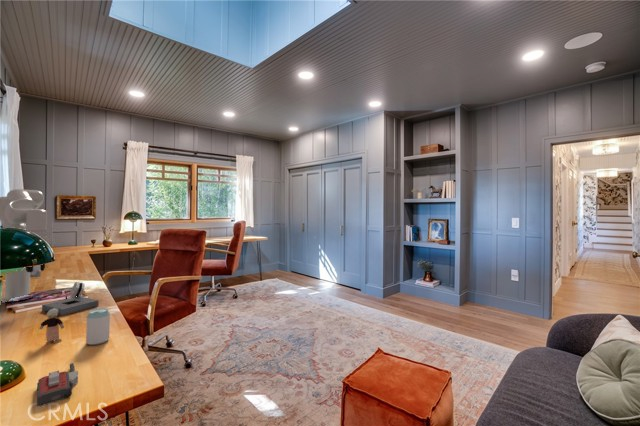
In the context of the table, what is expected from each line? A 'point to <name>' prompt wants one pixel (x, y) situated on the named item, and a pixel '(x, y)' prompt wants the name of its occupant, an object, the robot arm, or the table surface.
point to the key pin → (36, 271)
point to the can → (97, 326)
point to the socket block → (71, 305)
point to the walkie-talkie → (56, 386)
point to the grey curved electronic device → (77, 290)
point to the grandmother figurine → (52, 326)
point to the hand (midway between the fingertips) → (35, 270)
